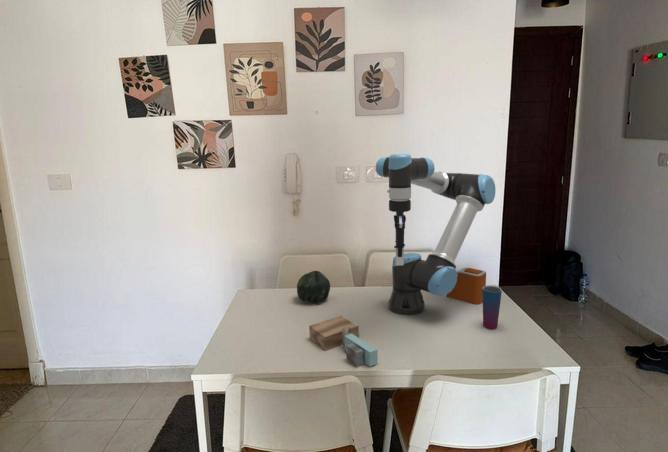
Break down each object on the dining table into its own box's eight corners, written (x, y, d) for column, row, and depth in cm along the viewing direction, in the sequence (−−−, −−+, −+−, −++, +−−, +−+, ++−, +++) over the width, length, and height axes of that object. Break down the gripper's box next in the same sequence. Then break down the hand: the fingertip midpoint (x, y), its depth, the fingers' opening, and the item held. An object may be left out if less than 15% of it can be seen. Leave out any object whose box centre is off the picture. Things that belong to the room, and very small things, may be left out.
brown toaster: (486, 299, 189) (488, 269, 186) (478, 305, 183) (479, 274, 180) (455, 291, 199) (456, 263, 196) (446, 297, 193) (447, 268, 190)
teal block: (344, 349, 149) (344, 335, 148) (351, 346, 150) (351, 333, 149) (370, 366, 137) (370, 352, 136) (377, 363, 139) (377, 349, 138)
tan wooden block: (309, 338, 158) (309, 320, 156) (341, 328, 165) (341, 311, 164) (350, 369, 136) (350, 349, 135) (385, 356, 144) (385, 336, 142)
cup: (501, 331, 159) (503, 292, 156) (481, 329, 160) (483, 291, 157) (498, 323, 166) (500, 286, 162) (479, 322, 167) (481, 285, 164)
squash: (296, 282, 202) (296, 265, 190) (328, 281, 203) (330, 264, 191) (297, 310, 193) (297, 294, 181) (330, 309, 195) (333, 293, 183)
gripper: (388, 196, 156) (388, 259, 161) (389, 202, 143) (389, 270, 148) (409, 196, 155) (408, 259, 160) (412, 202, 143) (411, 270, 148)
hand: (399, 264), depth 154 cm, fingers closed
